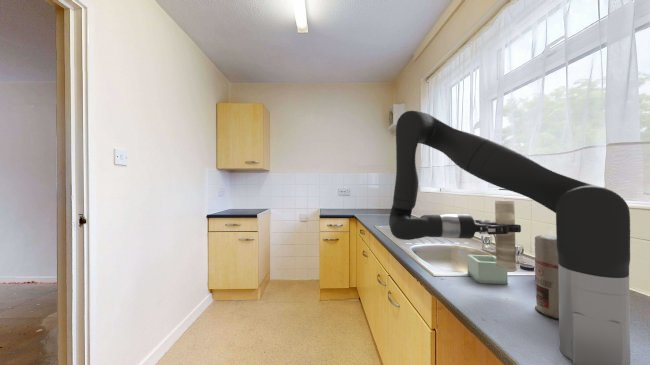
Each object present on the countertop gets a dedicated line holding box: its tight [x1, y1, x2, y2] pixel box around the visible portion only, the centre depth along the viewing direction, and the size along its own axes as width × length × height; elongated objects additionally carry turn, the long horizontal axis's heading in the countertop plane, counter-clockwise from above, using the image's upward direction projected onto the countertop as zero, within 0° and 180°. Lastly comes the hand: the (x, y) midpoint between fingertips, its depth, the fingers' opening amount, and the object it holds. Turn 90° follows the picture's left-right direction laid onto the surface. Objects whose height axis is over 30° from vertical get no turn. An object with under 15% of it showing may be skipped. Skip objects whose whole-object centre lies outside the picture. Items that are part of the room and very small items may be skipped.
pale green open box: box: [467, 254, 509, 285], centre depth 88 cm, size 9×9×7 cm
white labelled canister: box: [534, 234, 559, 320], centre depth 64 cm, size 8×8×20 cm
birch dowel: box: [494, 199, 517, 270], centre depth 75 cm, size 5×5×20 cm
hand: (514, 226), depth 75 cm, fingers closed on birch dowel, 4 cm apart
